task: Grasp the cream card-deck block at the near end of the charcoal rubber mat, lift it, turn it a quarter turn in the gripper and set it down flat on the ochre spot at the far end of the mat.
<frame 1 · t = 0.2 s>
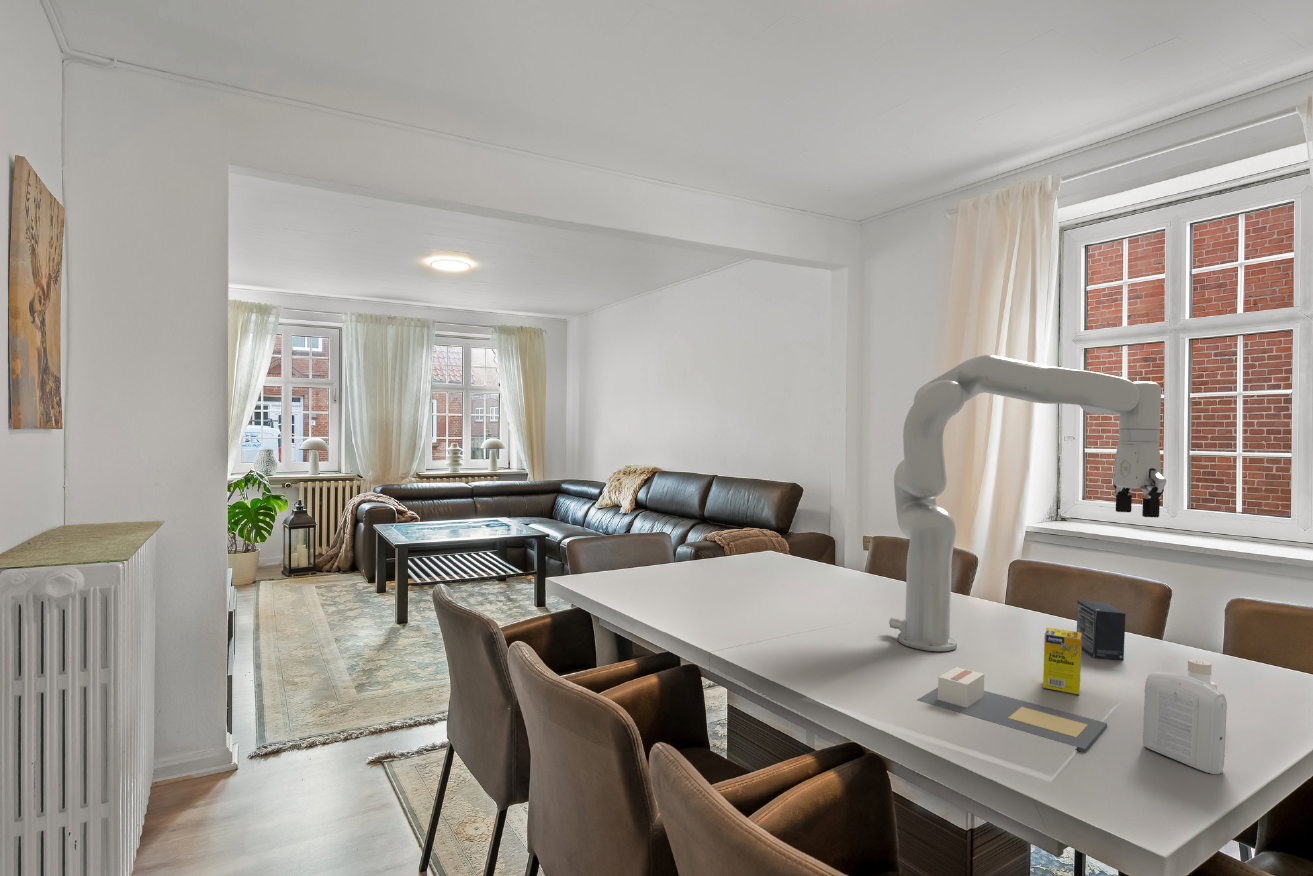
hand: (1136, 514, 156), 31 cm above the table, tool pointing down, fingers open, 9 cm apart
supplement box: (1061, 692, 132), on the table
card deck: (960, 697, 125), point 1 cm above the table, touching mat
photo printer: (1182, 760, 104), on the table
small box: (1099, 653, 157), on the table
mat: (1008, 714, 120), on the table
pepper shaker: (1198, 718, 121), on the table
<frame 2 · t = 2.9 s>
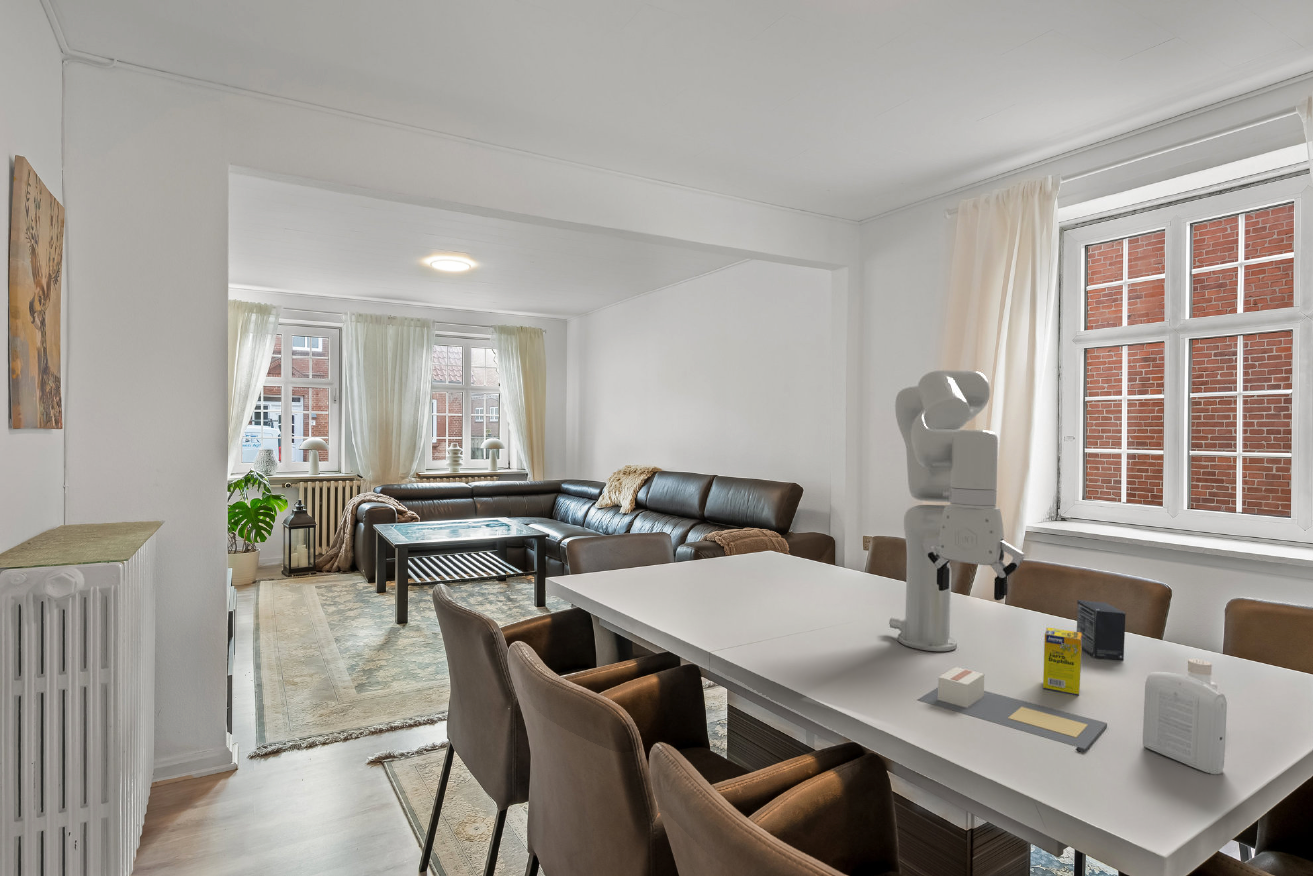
hand: (970, 594, 126), 19 cm above the table, tool pointing down, fingers open, 9 cm apart
nothing on the table moved.
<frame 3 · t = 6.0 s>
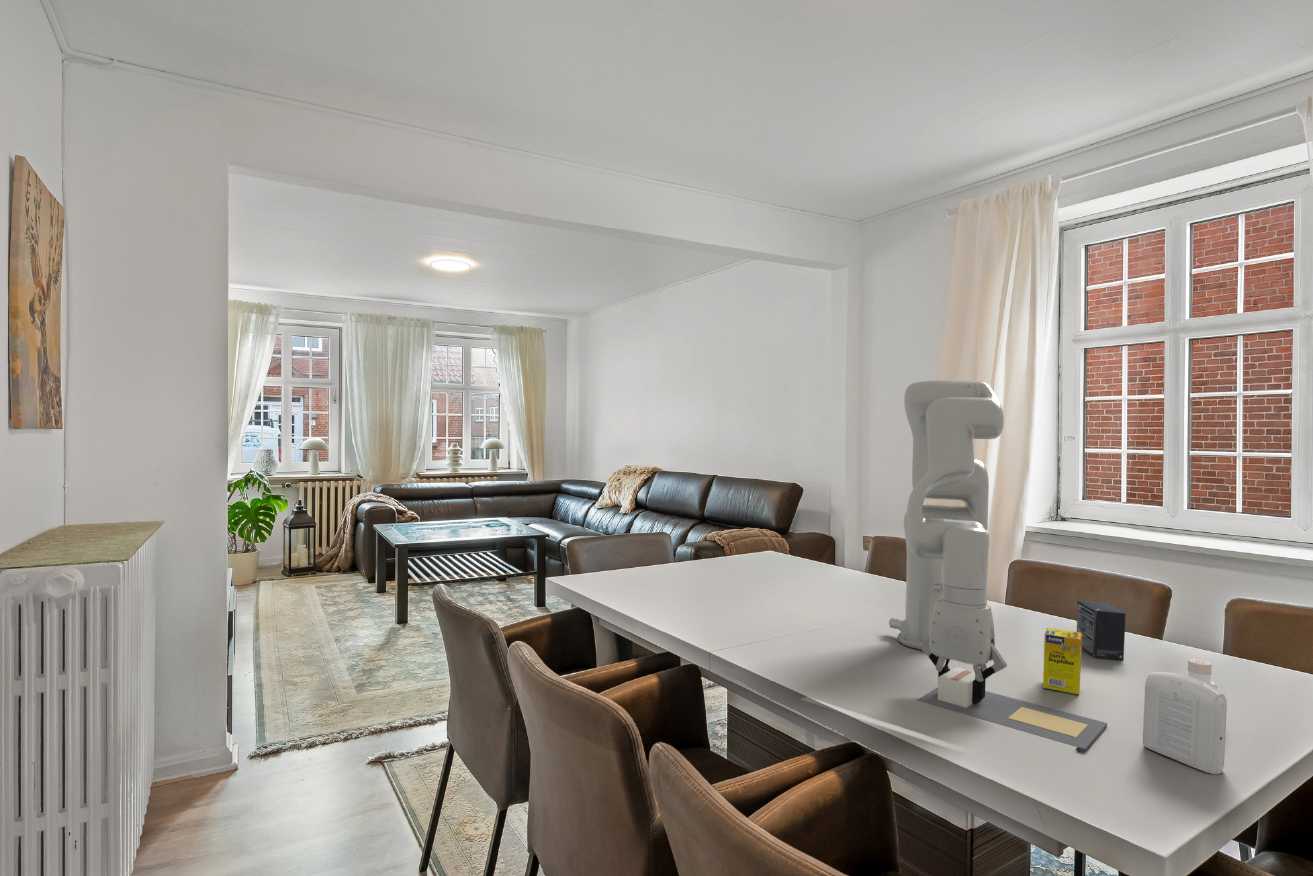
hand: (960, 696, 125), 1 cm above the table, tool pointing down, fingers closed on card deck, 4 cm apart
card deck: (960, 697, 125), point 1 cm above the table, touching gripper, mat
everything else where it was.
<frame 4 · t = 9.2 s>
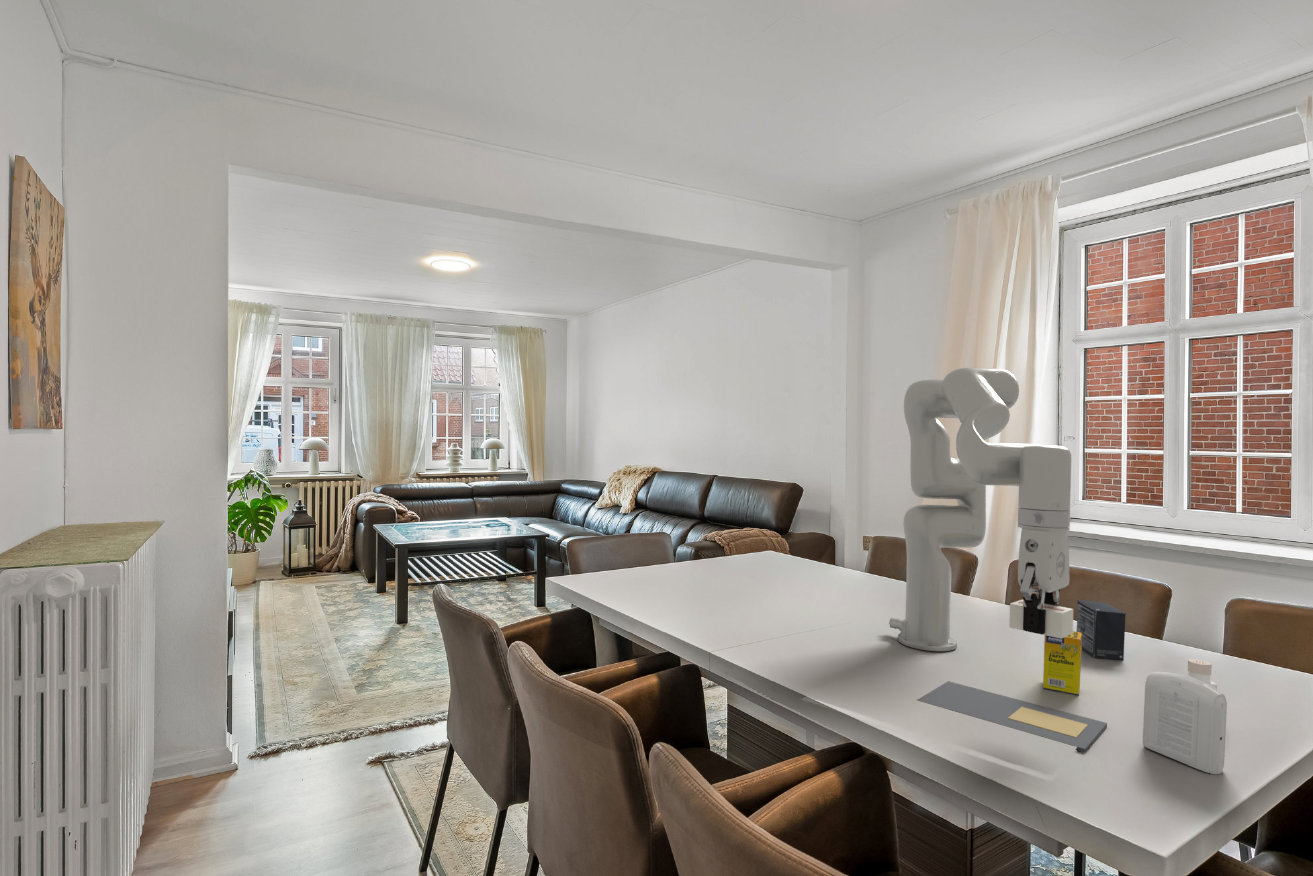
hand: (1040, 628, 116), 16 cm above the table, tool pointing down, fingers closed on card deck, 4 cm apart
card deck: (1040, 630, 116), point 15 cm above the table, touching gripper
everything else where it was.
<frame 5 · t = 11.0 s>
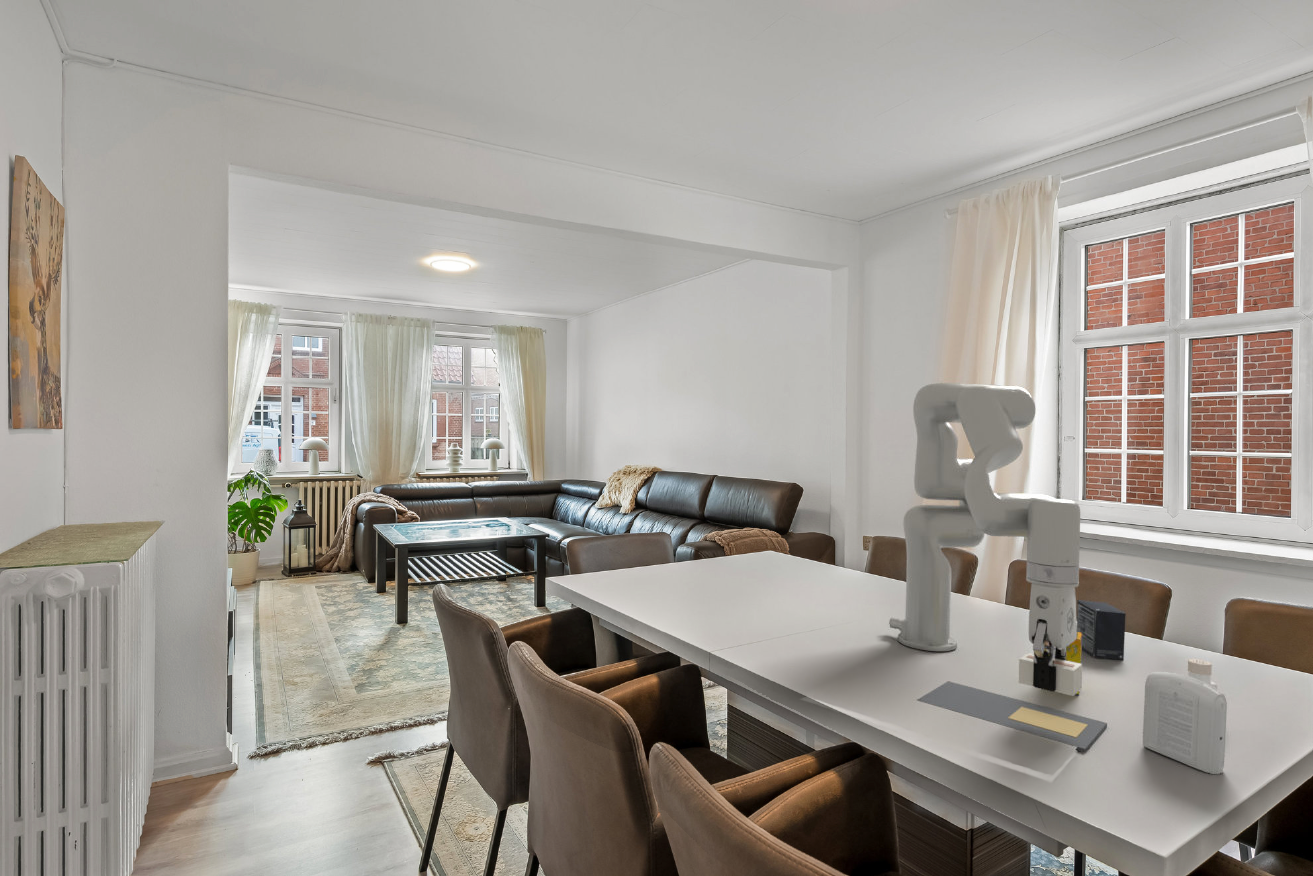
hand: (1049, 683, 115), 7 cm above the table, tool pointing down, fingers closed on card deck, 4 cm apart
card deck: (1049, 685, 115), point 7 cm above the table, touching gripper
everything else where it was.
when the fingers open (2 cm above the table, at t = 12.7 s): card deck drops 1 cm, resting on mat.
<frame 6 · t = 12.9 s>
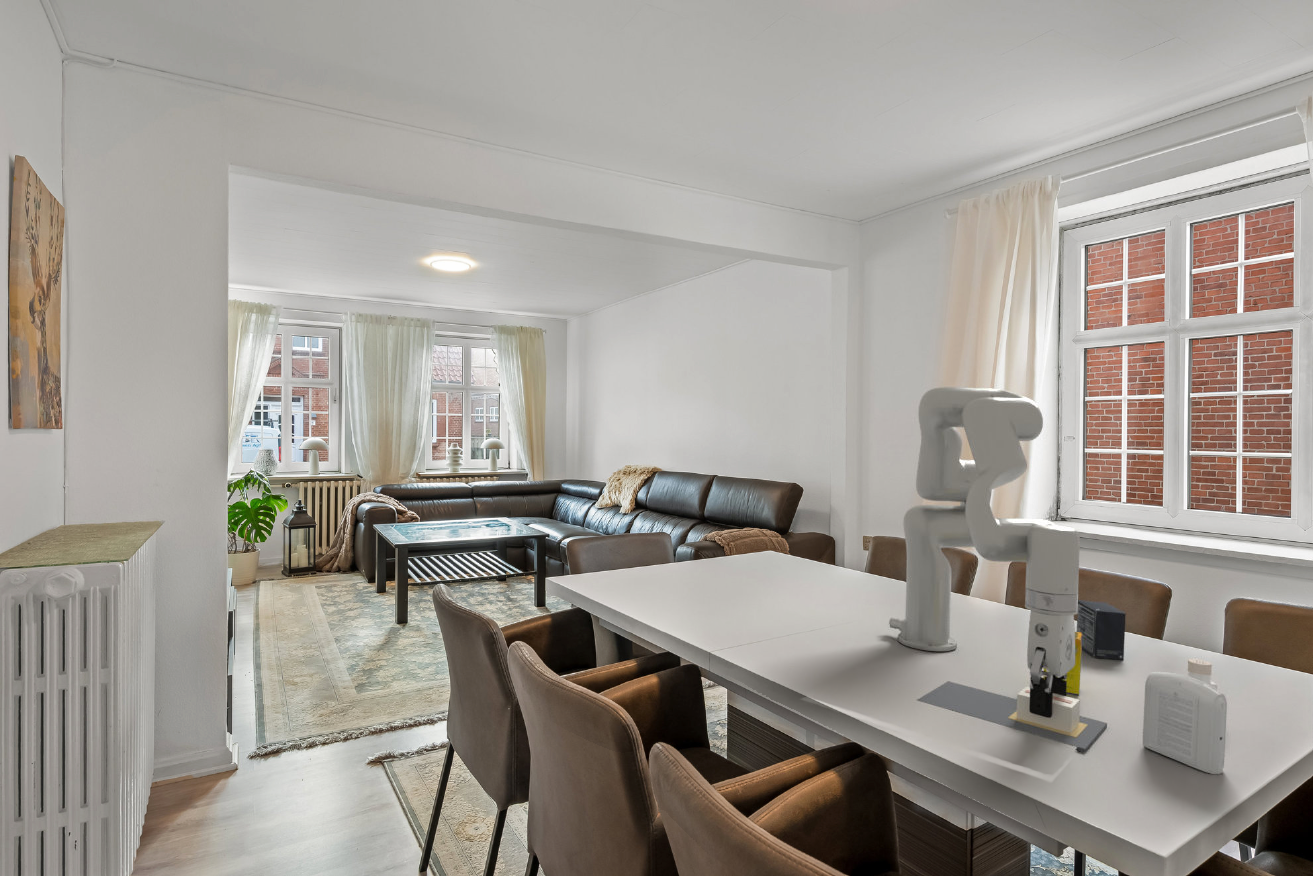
hand: (1048, 707, 115), 3 cm above the table, tool pointing down, fingers open, 7 cm apart
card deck: (1047, 721, 116), point 1 cm above the table, touching mat
everything else where it was.
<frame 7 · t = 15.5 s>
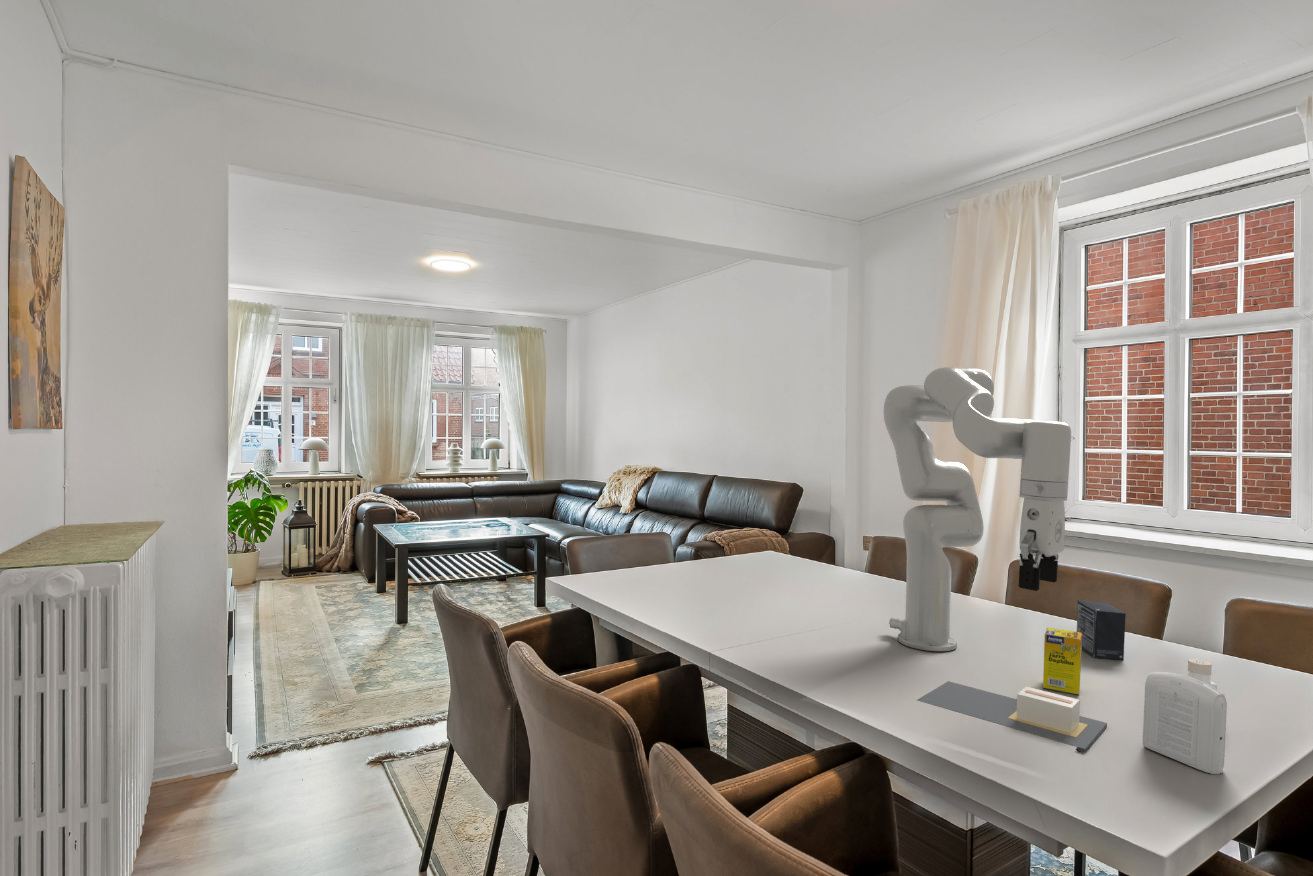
hand: (1037, 584, 126), 21 cm above the table, tool pointing down, fingers open, 9 cm apart
nothing on the table moved.
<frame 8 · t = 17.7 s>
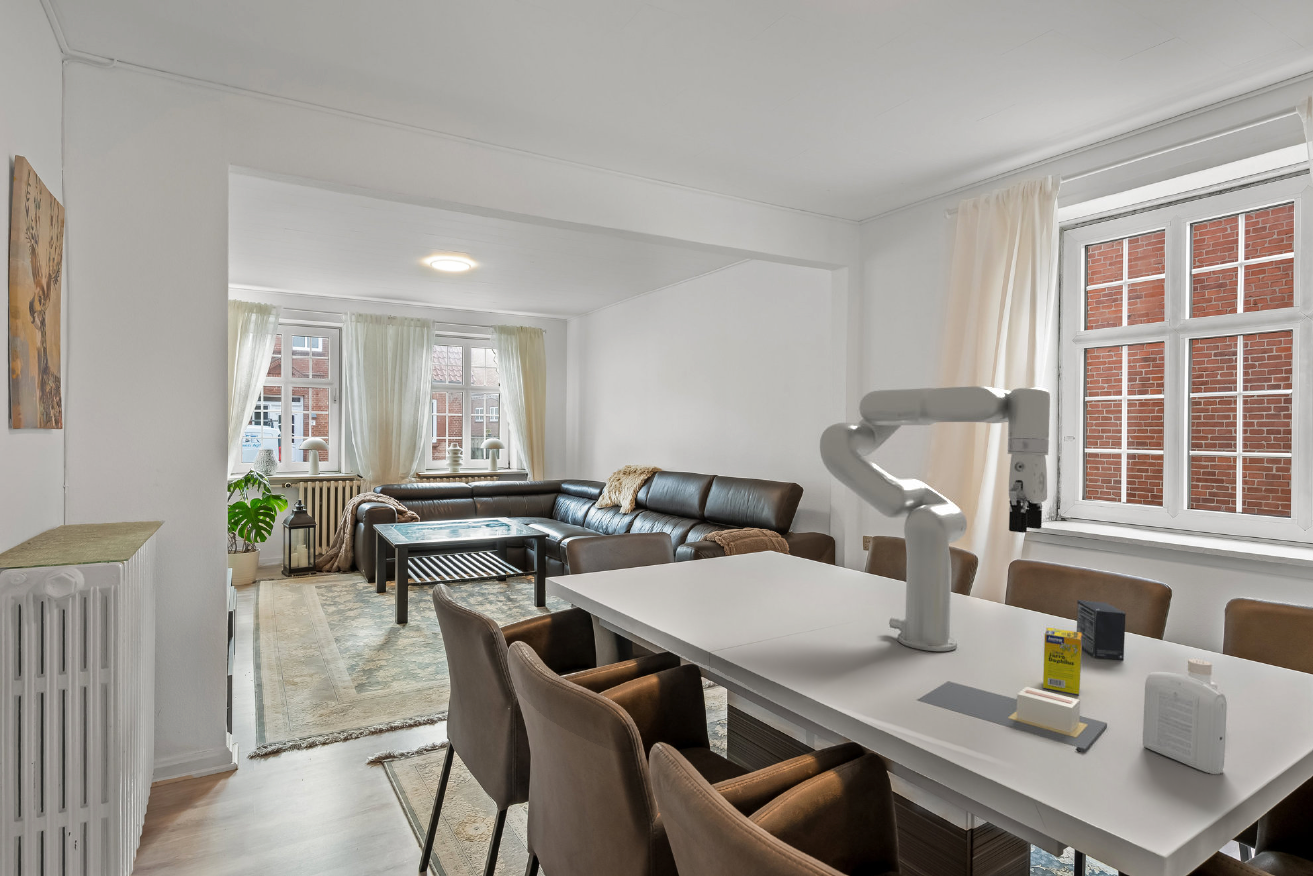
hand: (1025, 529, 146), 28 cm above the table, tool pointing down, fingers open, 9 cm apart
nothing on the table moved.
at the end: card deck 0.0 cm from the target spot, point 0.7 cm above the table; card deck tilted 0°; the gripper is holding nothing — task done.
